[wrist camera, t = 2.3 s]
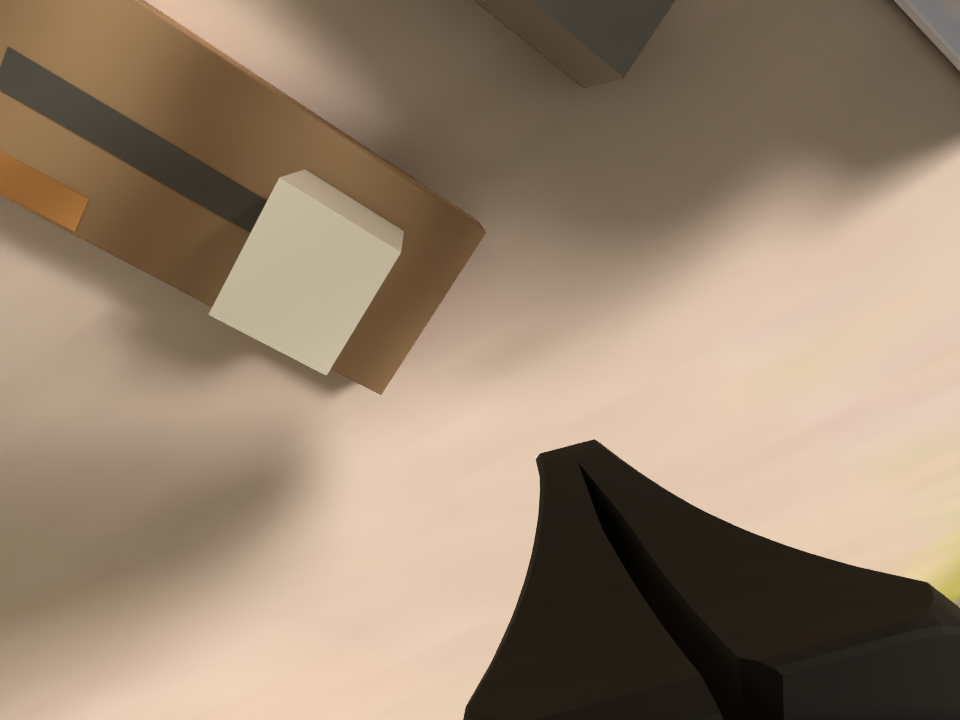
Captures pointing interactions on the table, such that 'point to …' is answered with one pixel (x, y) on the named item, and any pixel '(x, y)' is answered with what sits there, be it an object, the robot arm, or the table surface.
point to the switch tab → (308, 270)
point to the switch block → (197, 162)
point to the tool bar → (583, 32)
